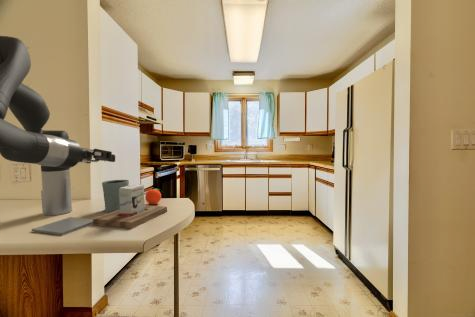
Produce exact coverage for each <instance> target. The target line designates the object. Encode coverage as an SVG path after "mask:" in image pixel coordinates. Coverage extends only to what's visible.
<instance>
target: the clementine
mask: <svg viewBox="0 0 475 317" xmlns="http://www.w3.org/2000/svg"><path fill="white" fill-rule="evenodd" d="M160 190H161V189H159V188H151V189H149V190H147V192H146V193H145V194H144V200H145V201H146V202H147V203H148V204H149V205H155V204H158V203H159V202H160V201H161V200H162V193H161V191H160Z"/></svg>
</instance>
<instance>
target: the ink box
mask: <svg viewBox="0 0 475 317" xmlns="http://www.w3.org/2000/svg"><path fill="white" fill-rule="evenodd" d="M119 200H120V216H124V217H131V216H134V215H136V214H138V213H141V212H143V211H145V205H146V203H145V185H144V184H129V186H125V187H121V188H120V189H119Z"/></svg>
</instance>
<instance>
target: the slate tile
mask: <svg viewBox="0 0 475 317" xmlns="http://www.w3.org/2000/svg"><path fill="white" fill-rule="evenodd" d="M91 225H94V224H93V218H92V219H91V218H84V217H83V218H82V217H71V216H70V217H66V218H63V219H60V220H57V221H53V222H50V223H47V224H44V225H40V226H37V227H34V228H31V232H32V231H36V232H35V233H39V232H43V233H42V234H47V233H50V234H49V235H55V234H56V235H57V236H64V235H67V234H70V233H72V232H75V231H77V230H80V229H83V228H86V227H88V226H91ZM56 235H55V236H56Z"/></svg>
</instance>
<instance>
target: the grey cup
mask: <svg viewBox="0 0 475 317" xmlns="http://www.w3.org/2000/svg"><path fill="white" fill-rule="evenodd" d="M129 180H130V179H129ZM129 180H128V179H113V180H105V181H102V182H101V185H102V192H103V201H104V209H105V212H106V213H111V212H114V211H116V210H119V209H120V200H119V189H120V188H121V187H125V186H129V185H130V181H129Z"/></svg>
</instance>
